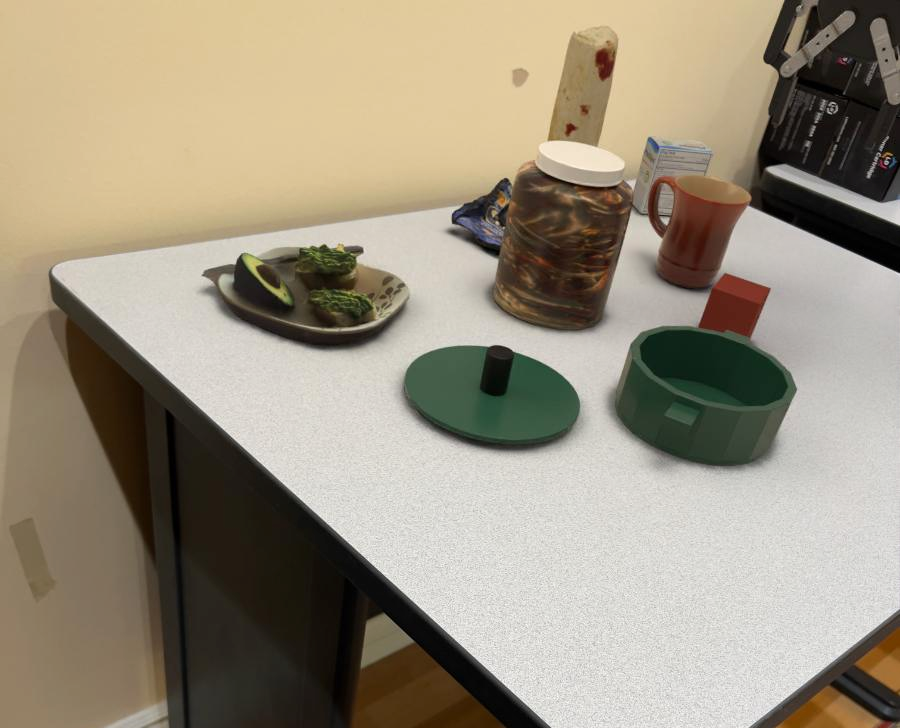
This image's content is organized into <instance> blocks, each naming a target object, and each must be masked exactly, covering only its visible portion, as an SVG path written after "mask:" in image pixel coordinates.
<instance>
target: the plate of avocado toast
mask: <svg viewBox="0 0 900 728" xmlns="http://www.w3.org/2000/svg"><path fill="white" fill-rule="evenodd" d="M336 245H337V246H336V247H331V248H330V247H329V246H328V244H326V243H322V244H321V245H319V246H317V245H316V246H315V245H311V246H310V247H306V246H279V247H273V248H271V249H269V250H267V251H265V252H262V253H261V254H259V255H257V256H255V255H253V254H251V253H248V252H243V253H240V255H239V256H238V257H237V258H236V261H235V264H233V263H228V264H223V265H220V266H215V267H210V268H207V269H205V270H203V272H202V274H201V275H200V276H201V277H203V278H206V279H208V280H210V281H211V282H212V283H213V284H214V285H215V286H216V288H217V291H218V293H219V295H220V297H221V298H222V299H223V301H224V303H225V304H226V305H227V306H228V308H229V309H230V310H231V312H232V313H233V314H234V315H235V316H236V317H238V318H239V319H241V320H242V321H245V322H247V323H249V324H252V325H254V326H257V327H258V328H261V329H264V330H266V331H268V332H271V333H274V334H276V335H278V336H280V337H284V338H287V339H290V340H294V341H298V342H302V343H306V344H314V345H321V346H344V345H349V344H352V343H355V342H357V341H360V340H362V339H364V338H366V337H369V336H370V335H373V334H375V333H377V332H378V331H380V330H382V329H383V327H384V326H385V324H386V322H388V321H389V320H390V319H392V318H393V317H394V316H395V315H397V313H398V312H399V311H400V310H401V309H402V307H403V306H404V305H405V303H407V301H409V299H410V297H411V293H410V292H411V291H410V287H409V285H408V284H407V283H406V282H405V281H404V280H403V279H402V277H400V276H398V275H396V274H394V273H391V272H389V271H385V270H382V269H378V268H374V267H371V266H368V265H364V264H361V263H359V262H358V260H357V258H358V257H360V256H362V255H363V254H364V252H365V251H364V247H363V246H361V245H357V244H356V245H346V246H344V244H342V243H338V244H336Z"/></svg>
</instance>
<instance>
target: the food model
mask: <svg viewBox="0 0 900 728" xmlns="http://www.w3.org/2000/svg"><path fill="white" fill-rule="evenodd" d="M618 46H619V36H618V34H617V33H616V31H614V30H613V29H612V28H611V26H609V25H600V26H592V27H588V28H587V29H585V30H579V31H578V32H577V33H576V31H573V32H572V34H571V35H570V39H569V41H568V44H567V49H566V53H565V59H564V63H563V67H562V72H561V76H560V81H559V85H558V89H557V93H556V97H555V102H554V104H553V109H552V114H551V119H550V125H549V131H548V136H547V140H546V142H548V141H571V142H577V143H583V144H587V145H591V146H595V147H598V146H599V142H600V140H601V139H600V138H601V136H602V133H603V132H602V131H603V127H604V122H605V117H606V113H607V109H608V103H609V99H610V95H611V91H612V90H611V89H612V85H613V78H614V71H615V67H616V60H617V54H618V48H619V47H618Z"/></svg>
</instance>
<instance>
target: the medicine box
mask: <svg viewBox="0 0 900 728" xmlns="http://www.w3.org/2000/svg"><path fill="white" fill-rule="evenodd" d="M643 150H644V151H643V154H642V158H641V161H640V165H639V169H638V172H637V176H636V179H635V182H634V186H633V193H634V199H633V205H632V206H634V208H635V209H636V210H637V211H638V212H639V213H640V214H643V215H648V198H649V193H650V190H651V187H652V185H653V183H654V181H655V180H656V179H658V178H659V177H662V176H672V177H675V178H676V177H678V176H681V175H690V174H692V175H702V176H708V175H707V174H708V171H709V168H710V165H711V162H712V160H713V157H714V152H713V151H712V150H711V148H709V146H707V145H706V144H705V143H704V142H702V141H701V140H695V139H687V138H676V137H663V136H651V135H650V136H647V140H646V144H645V147H644V149H643ZM673 197H674V193H673V192H672V190H671V188H670V186H668V185H667V184H665V183H664V185H663V187H662V189H661V193H660V197H659V204H658V212H659V216H671V212H672V207H673Z"/></svg>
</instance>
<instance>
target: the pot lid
mask: <svg viewBox="0 0 900 728" xmlns="http://www.w3.org/2000/svg"><path fill="white" fill-rule="evenodd" d="M403 384H404V391H405V394H406V396H407V398H408V400H409V401H410V403H411V405H413V407H414V409H416V410H417V411H418V412H419V413H420V414H421V415H423V416H424V417H425V418H426V419H428V420H429V421H431V422H432V423H434V424H436V425H438V426H439V427H441V428H444V429H445V430H447V431H450V432H452V433H455V434H458V435H460V436H463V437H466V438H469V439H473V440H477V441H482V442H485V443H486V442H487V443H493V444H502V445H503V444H504V445H530V444H537V443H542V442H545V441H549V440H553V439H555V438H558V437H560V436H562V435H563V434H565V433H566V432H568V431H569V430H570V429H571V428H572V427H573V426H575V424H576V422H577V420H578V417H579V415H580V412H581V401H580V397H579V394H578V392H577V390H576V389H575V387H574V386H573V385H572V383H571V382H570V381H569V380H568V379H567V378H566V377H565V376H563V374H561V373H560V372H558V371H557V370H555V369H554V368H552V367H551V366H550V365H547V364H546V363H544V362H542V361H540V360H537V359H536V358H533V357H531V356H528V355H525V354H522V353H519V352H516V351H513V349H511V348H510V347H508V346H506V345H499V344H493V345H490V346H486V345H485V346H484V345H471V344H470V345H467V344H465V345H451V346H445V347H441V348H436V349H433V350H430V351H428V352H425V353H423V354H420V356H418V357H416V358H415V359H414V360H412V362H411V363H410V364H409V366H408V367H407V368H406V371H405V374H404V381H403Z"/></svg>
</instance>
